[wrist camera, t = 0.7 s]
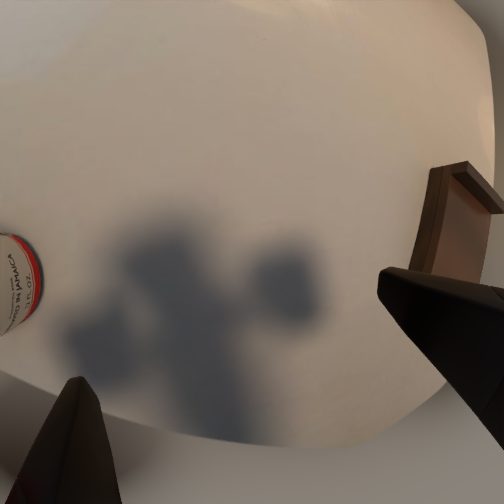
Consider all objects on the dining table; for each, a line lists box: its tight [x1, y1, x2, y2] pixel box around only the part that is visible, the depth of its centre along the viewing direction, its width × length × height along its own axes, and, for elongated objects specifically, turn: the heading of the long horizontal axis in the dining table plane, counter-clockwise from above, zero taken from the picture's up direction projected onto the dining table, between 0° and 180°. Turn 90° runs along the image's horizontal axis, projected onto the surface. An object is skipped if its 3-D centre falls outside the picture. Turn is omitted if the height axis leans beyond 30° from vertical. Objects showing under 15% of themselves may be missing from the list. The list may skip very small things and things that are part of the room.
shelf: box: [409, 161, 504, 284], centre depth 26 cm, size 12×9×5 cm
